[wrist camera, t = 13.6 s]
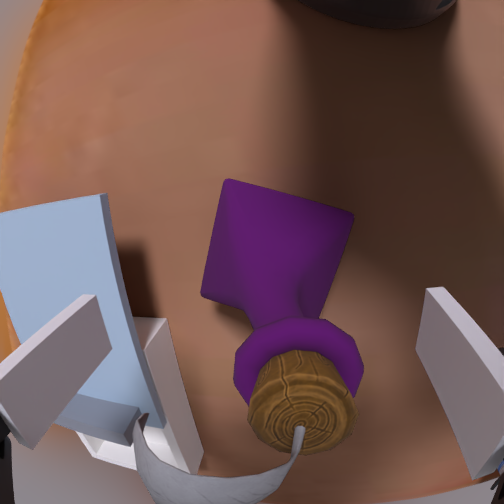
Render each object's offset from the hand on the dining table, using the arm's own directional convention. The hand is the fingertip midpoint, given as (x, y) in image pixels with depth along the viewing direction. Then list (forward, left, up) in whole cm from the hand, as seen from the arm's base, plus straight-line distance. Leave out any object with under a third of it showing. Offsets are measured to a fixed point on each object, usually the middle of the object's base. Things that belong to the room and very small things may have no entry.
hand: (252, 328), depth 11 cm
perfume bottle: (0, 0, -11) cm, 11 cm away
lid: (+4, -15, -6) cm, 17 cm away
